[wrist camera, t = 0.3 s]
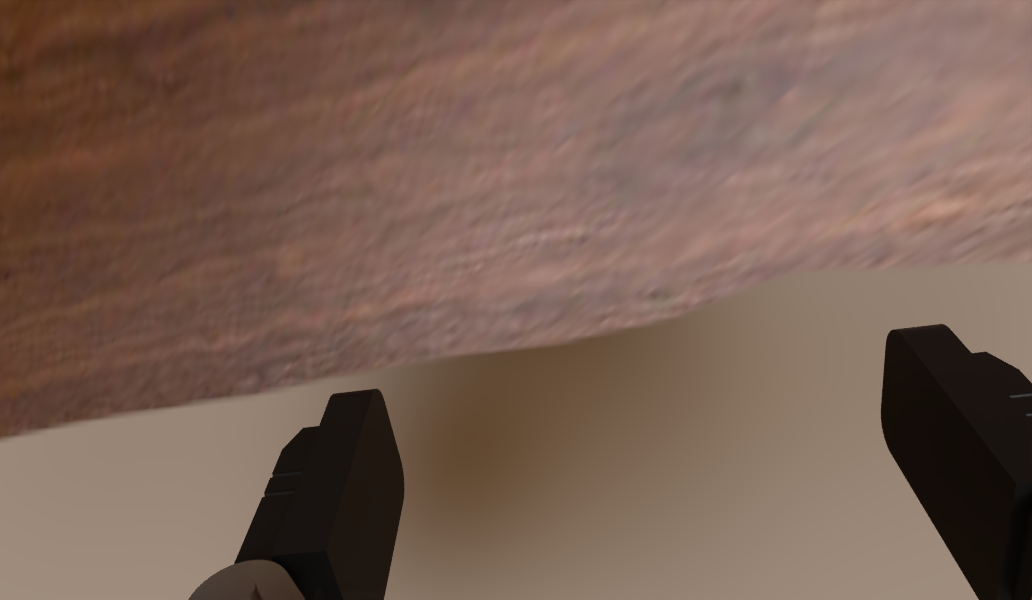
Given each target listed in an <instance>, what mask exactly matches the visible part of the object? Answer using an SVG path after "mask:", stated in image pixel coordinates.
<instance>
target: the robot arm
mask: <svg viewBox="0 0 1032 600" xmlns="http://www.w3.org/2000/svg"><path fill="white" fill-rule="evenodd" d="M881 422H882V429H883V434H884V438H885V441H886V444H887V446H888V449H889V451H890V453H891V454H892V456H893V458H894V459H895V461H896V463H897V464H898V466H899V468H900V469H901V471H902V473H903V474H904V476H905V478H906V479H907V481H908V482H909V484H910V486H911V488H912V489H913V491H914V493H915V494H916V496H917V497H918V499H919V501H920V503H921V504H922V506H923V508H924V509H925V511H926V513H927V514H928V516H929V517H930V519H931V521H932V523H933V524H934V526H935V527H936V529H937V531H938V532H939V534H940V536H941V537H942V539H943V541H944V542H945V544H946V546H947V547H948V549H949V551H950V552H951V554H952V556H953V557H954V559H955V561H956V562H957V564H958V566H959V567H960V569H961V571H962V572H963V574H964V576H965V577H966V579H967V581H968V582H969V584H970V586H971V587H972V589H973V591H974V592H975V594H976V596H977V597H978V599H979V600H1032V383H1031V382H1030V381H1029V380H1028V379H1027V378H1026V377H1025V376H1024V375H1023V373H1022V372H1021V371H1020V370H1019V369H1017V368H1015V367H1013V366H1012V365H1009V364H1008V363H1006V362H1004V361H1002V360H1000V359H998V358H997V357H995V356H993V355H991V354H989V353H987V352H980V353H971V352H970V351H969V350H968V349H967V348H966V347H965V345H964V344H963V343H962V342H961V341H960V340H959V339H958V337H957V336H956V335H955V334H954V333H953V332H952V331H951V330H950V329H949V328H948V327H947V326H946V325H944V324H938V325H930V326H921V327H912V328H904V329H896V330H891V331H890V333H889V334H888V336H887V340H886V350H885V362H884V376H883V389H882V403H881ZM272 474H273V478H270V480H269V482H268V485H267V488H266V490H265V492H264V494H265V497H263V498H262V499H261V502H260V504H259V506H258V508H257V511H256V513H255V516H254V518H253V520H252V523H251V525H250V528H249V530H248V532H247V535H246V537H245V539H244V542H243V544H242V547H241V549H240V551H239V554H238V556H237V558H236V561H235V563H234V565H231V566H229V567H227V568H225V569H223V570H221V571H219V572H217V573H216V574H214V575H212V576H211V577H210V578H208V579H207V580H206V581H204V582H203V583H202V584H201V585H200V586H199V587H198V588H197V589H196V590H195V592H194V593H193V594H192V595H191V597H190V598H189V600H384V596H385V591H386V586H387V581H388V576H389V571H390V566H391V561H392V556H393V551H394V545H395V541H396V536H397V531H398V526H399V520H400V516H401V510H402V505H403V500H404V475H403V468H402V463H401V459H400V455H399V452H398V448H397V444H396V441H395V437H394V434H393V430H392V426H391V423H390V419H389V416H388V412H387V408H386V405H385V401H384V398H383V396H382V393H381V392H380V391H379V390H378V389H371V390H362V391H355V392H354V391H353V392H345V393H336V394H333V395H332V396H331V397H330V399H329V402H328V404H327V407H326V410H325V412H324V415H323V418H322V420H321V423H320V426H316V427H307V428H303V429H302V430H301V431H300V432H299V433H298V434H297V435H296V436H295V437H294V438H293V439H292V440H291V441H290V442H289V443H288V444H287V445H286V446H285V447H284V448H283V449H282V452H281V454H280V456H279V459H278V461H277V463H276V466H275V468H274V471H273V473H272Z"/></svg>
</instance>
